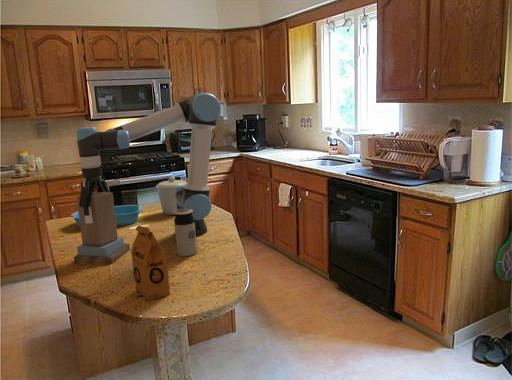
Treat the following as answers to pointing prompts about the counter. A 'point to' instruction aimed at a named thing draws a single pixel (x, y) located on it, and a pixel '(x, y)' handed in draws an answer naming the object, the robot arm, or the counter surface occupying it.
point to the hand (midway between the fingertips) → (98, 218)
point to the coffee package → (149, 265)
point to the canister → (169, 194)
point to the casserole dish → (120, 214)
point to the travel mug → (185, 232)
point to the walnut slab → (102, 257)
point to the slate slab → (100, 248)
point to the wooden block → (99, 220)
